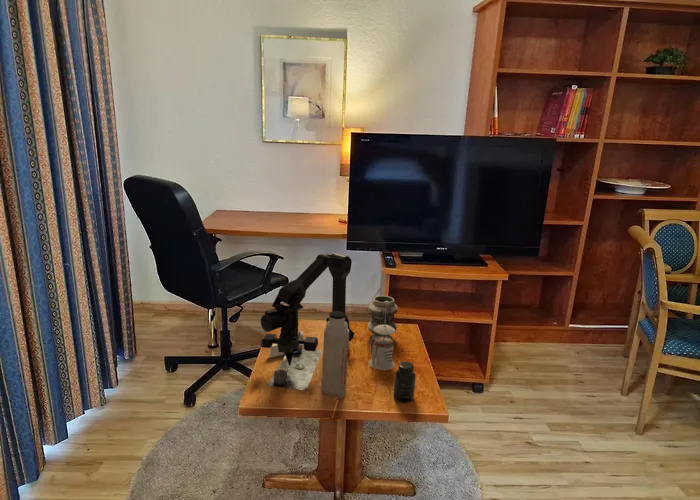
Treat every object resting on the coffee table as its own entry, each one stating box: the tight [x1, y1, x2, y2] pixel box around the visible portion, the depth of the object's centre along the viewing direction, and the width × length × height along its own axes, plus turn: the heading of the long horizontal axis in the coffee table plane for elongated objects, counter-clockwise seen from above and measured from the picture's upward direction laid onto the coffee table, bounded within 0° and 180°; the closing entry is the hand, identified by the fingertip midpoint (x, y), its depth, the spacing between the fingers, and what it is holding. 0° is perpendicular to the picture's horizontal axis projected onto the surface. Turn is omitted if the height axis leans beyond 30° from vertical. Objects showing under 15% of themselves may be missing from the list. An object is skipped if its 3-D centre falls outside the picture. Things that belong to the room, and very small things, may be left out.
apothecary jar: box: [367, 295, 399, 343], centre depth 199 cm, size 12×12×18 cm
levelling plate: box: [267, 348, 323, 391], centre depth 171 cm, size 13×29×2 cm, turn 173°
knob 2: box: [273, 355, 289, 385], centre depth 164 cm, size 13×4×4 cm, turn 176°
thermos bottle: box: [321, 311, 350, 400], centre depth 156 cm, size 8×8×28 cm
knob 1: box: [268, 343, 303, 359], centre depth 180 cm, size 13×4×4 cm, turn 123°
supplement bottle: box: [392, 360, 417, 404], centre depth 157 cm, size 7×7×12 cm
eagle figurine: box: [298, 330, 305, 340], centre depth 190 cm, size 8×7×9 cm
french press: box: [368, 301, 396, 371], centre depth 177 cm, size 10×12×25 cm
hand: (289, 364), depth 167 cm, fingers closed
